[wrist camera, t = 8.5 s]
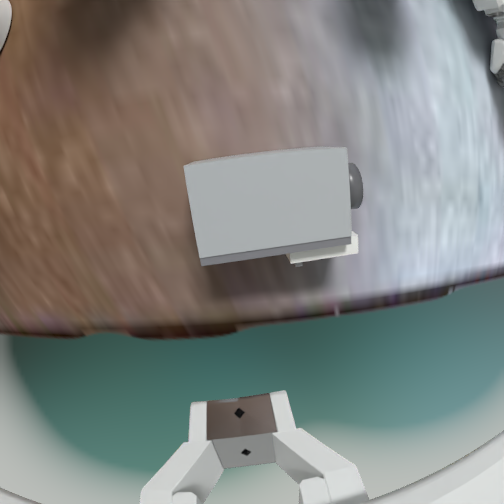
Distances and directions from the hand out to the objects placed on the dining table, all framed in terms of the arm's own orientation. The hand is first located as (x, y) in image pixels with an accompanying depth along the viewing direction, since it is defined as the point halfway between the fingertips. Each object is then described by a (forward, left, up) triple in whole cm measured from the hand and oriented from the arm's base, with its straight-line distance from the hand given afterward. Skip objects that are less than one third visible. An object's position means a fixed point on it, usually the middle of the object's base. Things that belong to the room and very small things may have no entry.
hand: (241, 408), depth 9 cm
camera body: (+4, +3, -22) cm, 23 cm away
